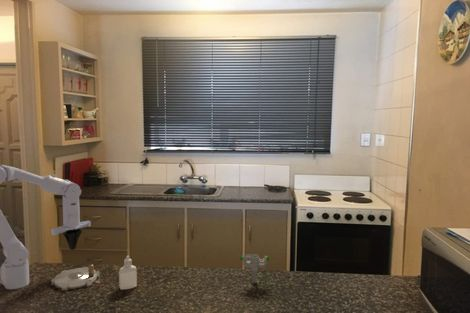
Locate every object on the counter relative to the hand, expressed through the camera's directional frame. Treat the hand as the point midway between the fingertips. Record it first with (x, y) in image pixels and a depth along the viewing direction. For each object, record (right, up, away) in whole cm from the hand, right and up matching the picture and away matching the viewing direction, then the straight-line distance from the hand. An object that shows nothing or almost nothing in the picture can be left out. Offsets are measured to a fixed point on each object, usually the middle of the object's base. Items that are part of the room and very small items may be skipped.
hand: (72, 248), depth 131 cm
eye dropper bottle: (+25, -11, -12) cm, 30 cm away
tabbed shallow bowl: (+5, -9, -8) cm, 13 cm away
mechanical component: (+69, -11, -5) cm, 70 cm away
